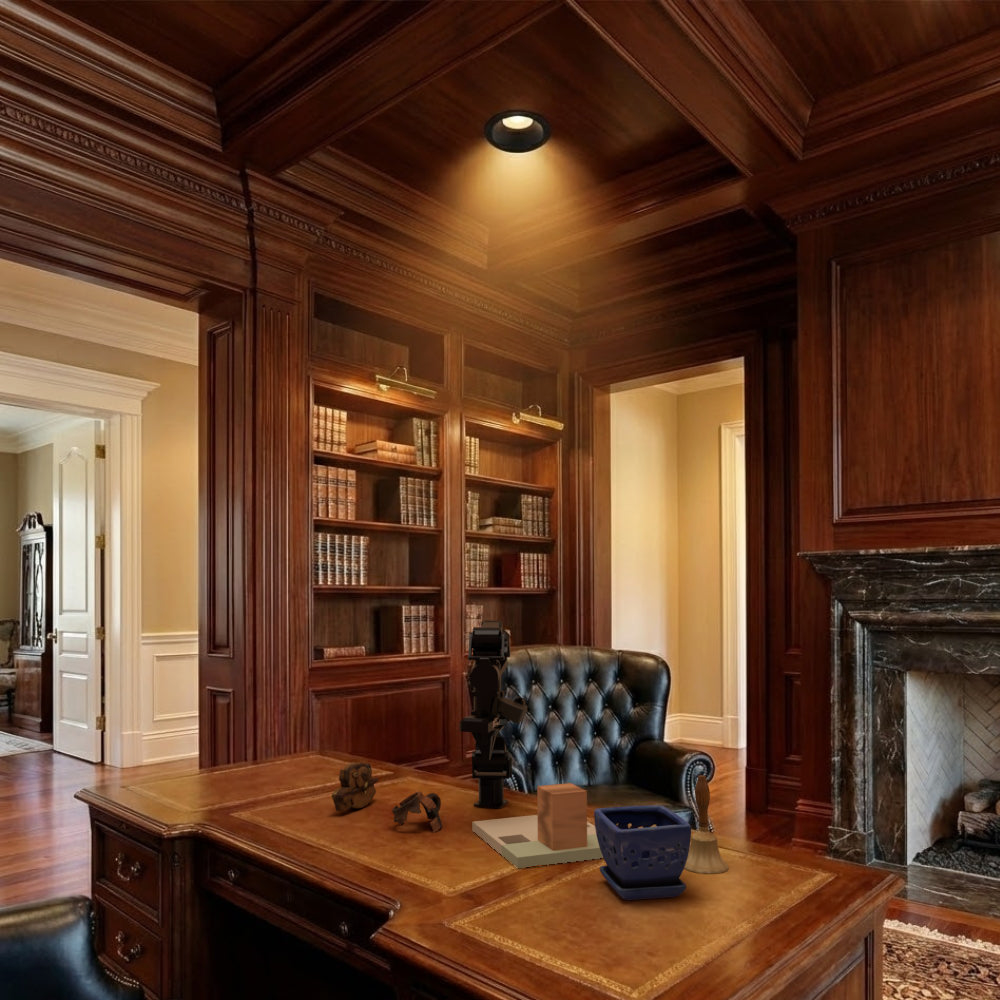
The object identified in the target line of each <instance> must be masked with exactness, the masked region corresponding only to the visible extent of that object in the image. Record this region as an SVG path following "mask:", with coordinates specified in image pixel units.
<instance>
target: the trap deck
mask: <svg viewBox="0 0 1000 1000" xmlns="http://www.w3.org/2000/svg"><path fill="white" fill-rule="evenodd" d="M471 826H472V827H471V828H472V831H473V832H475V833H476V834H477V835H478V836H480V837H481V838H482V839H483V840H484V841H485V842H486V844H487V843H488V844H489V845H490V846H491V847H492V848H491V849H493V850H494V849H495V850H496V851H497V852H498V853H497V852H496V851H495V850H494V851H495V852H496V853H497V854H499V853H500V854H501V855H502V845H505V844H514V843H523V842H531V841H538V814H533V815H524V816H523V815H522V816H513V817H504V818H494V819H493V818H492V819H486V820H475V821H472V825H471ZM473 832H472V833H473ZM475 833H474V834H475ZM476 834H475V835H476ZM593 834H596V829H595V824H592V823H590V822H589V821H587V835H593ZM477 835H476V836H477ZM478 836H477V837H478ZM481 838H480V839H481ZM482 839H481V840H482ZM483 840H482V841H483ZM484 841H483V842H484ZM485 842H484V843H485ZM488 844H487V845H488ZM489 845H488V846H489ZM490 846H489V847H490ZM500 854H499V855H500ZM501 855H500V856H501Z"/></svg>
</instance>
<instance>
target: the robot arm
mask: <svg viewBox="0 0 1000 1000" xmlns="http://www.w3.org/2000/svg"><path fill="white" fill-rule="evenodd" d="M468 638H469V639H468V655H467V660H468V661H474V664H473V669H472V670H471V673H470V682H471V684H472V686H473V690H472V691H470V697H473V710H471V711H470V715H468V716H464V717H463V718H462V719H461V720H460V721H459V732H460V733H464V732H465V733H471V735H472V736H473V739H474V740H475V747H474V750H473V751H471V753H472V754H471V775H472V777H471V778H472V780H474V779H478V800H476V802H474V803H473V807H477V806H478V807H479V808H480V807H481V808H489V809H490V808H491V809H501V808H503V807H504V806H505V805H506V804H508V803H509V799H504V780H505V779H506V780H509V779H510V778H513V759H512V756H511V755H510V752H509V751H507V745H506V740H505V739H504V737H503V735H502V734H501V731H502V730H503V729H504V728H505V726H506V725H504V724H501V720H503V721H504V720H506V722H512V723H515V724H520V723H521V722H523V721H524V719H525V716H526V713H528V705H527V704H526V698H524V697H521V696H518V697H516V698H514V700H513V699H512V698H510V699H509V698H507V697H505V691H504V689H501V687H502V686H501V683H502V681H501V680H502V675H503V673H504V672H505V670H506V668H507V667H508V658H511V635H510V634H509V632H507V630H506V629H505V628H504V627H503V621H501V620H498V619H497V620H496V619H495V620H490V619H489V620H485V619H484V620H483V621H481V622H480V626H479V627H478V626H474V627H472V632H469V636H468Z"/></svg>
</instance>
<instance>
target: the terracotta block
mask: <svg viewBox="0 0 1000 1000" xmlns="http://www.w3.org/2000/svg"><path fill="white" fill-rule="evenodd" d="M536 789H537V794H536V795H537V815H538V841H540V842H541V843H542V844H544V845H545V846H547V847H548V848H549V849H551V850H552V851H555V850H564V849H572V848H581V847H587V822H588V794H587V793H588V792H587V790H585V789H583V788H581V787H579V786H578V785H576V784H573V783H572V782H566V783H559V784H558V783H557V784H547V785H545V784H544V785H537V788H536Z"/></svg>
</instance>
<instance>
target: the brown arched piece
mask: <svg viewBox="0 0 1000 1000" xmlns="http://www.w3.org/2000/svg"><path fill="white" fill-rule="evenodd" d="M398 804H399V806H398V805H395V806H394V807H393V808H392V810H391V812H392V813H393V816H394V817H393V822H394V823H397V824H398V825H399V824H402V825H403V824H404V823H405V822H407V821H408V815H409V814H408V813H411V814H418V815H419V814H421V813H422V810H421V805H422V807H423V809H424V811H425V814H426V817H427V820H432V821H431V822H430V823H429V825H430V826H431V829H432V832H433V831H436V832H438V831H439V830H440V829H441V827H442V826H443V824H442V821H441V817H440V816H441V815H439V814H440V813H439V812H440V810H441V807H442V805H441V804H442V802H441V798H440V796H439V794H437V793H435V792H430V793H429V794H427V795H424V793H423V792H422V791H420V790H419V791H417V792H414V793H412V794H410V795H409V796H407V797H406V798H404V799H403V800H402V801H400V802H399V803H398Z"/></svg>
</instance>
